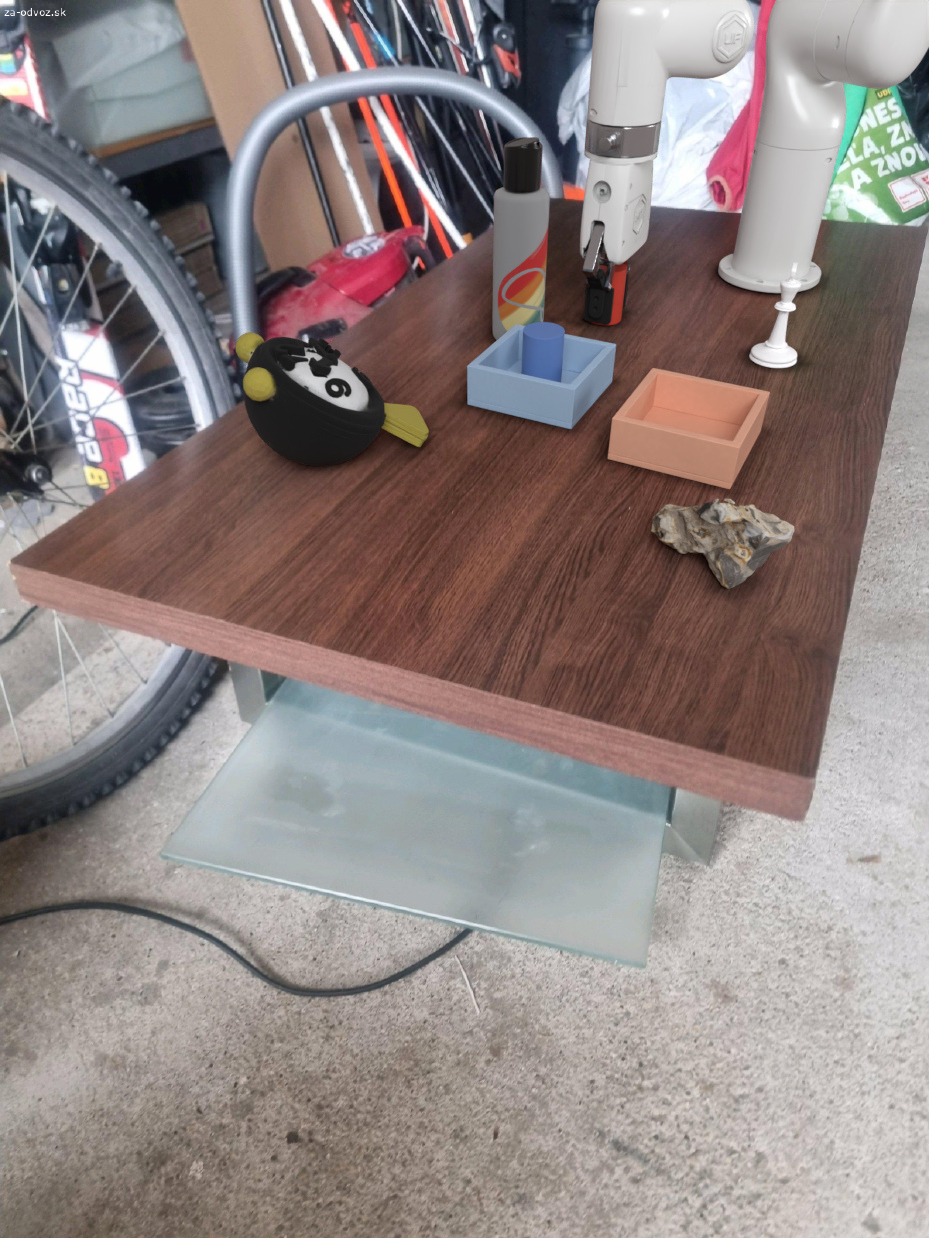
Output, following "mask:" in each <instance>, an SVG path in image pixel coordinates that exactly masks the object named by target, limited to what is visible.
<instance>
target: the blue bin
mask: <svg viewBox="0 0 929 1238" xmlns="http://www.w3.org/2000/svg"><path fill="white" fill-rule="evenodd" d="M524 327H525V326H523V325H518V324H516V325H514V326H513V327H512V328H511V329H510V330H508V331H507V332H506V333H505V334H504V335H503V336H501V337H500V338H499V339H498V340H496V341H494V342H493V343H492V344H491V345H489V346H488V347H487V348H486V349H485V350H483V352H481V353H480V354H479V355H478V356H476V358H474V359H473V360H472V361H471V362H470V363H469V364H467V366H466V384H467V385H466V386H467V388H466V389H467V390H466V393H467V396H466V397H467V398H466V399H467V404H466V405H468V406H471V407H476V408H481V409H484V410H489V411H493V412H496V413H501V414H506V415H510V416H514V417H518V418H522V419H526V420H530V421H533V422H534V421H535V422H539V423H541V424H542V423H543V424H547V425H551V426H556V427H559V428H563V429H568V430H573V428H574V427H575V426H576V425H577V424H578V422H579V421H580V420H581V419H582V417H584V416H585V415H586V413H587V412H588V411H589V409H590V408H592V406H593V405H594V404H595V403H596V402H597V400H598V399H599V398H600V397H601V396H602V394H603V393H604V392H605V391H606V390H607V389H608V388H609V386H610V385H611V384H612V383H613V377H614V368H615V360H616V351H617V344H616V343H614V342H613V343H612V342H607V341H603V340H598V339H593V338H587V337H582V336H578V335H573V334H567V333H565V335H564V350H563V364H562V378H561V383H560V382H556V381H551V380H547V379H542V378H538V377H533V376H529V375H524V374H521V371H522V344H523V329H524Z"/></svg>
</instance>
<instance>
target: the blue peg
mask: <svg viewBox="0 0 929 1238" xmlns="http://www.w3.org/2000/svg"><path fill="white" fill-rule="evenodd" d="M565 334H566V330H565V328H564V327H563V326H562V325H560V324H558V323H555V322H549V321H543V322H536V323H531V324H529V325H527V326H525V327H524V329H523V344H522V371H521V374H524V375H529V376H533V377H538V378H542V379H547V380H551V381H556V382H560V383H561V378H562V364H563V350H564V335H565Z"/></svg>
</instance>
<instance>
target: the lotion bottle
mask: <svg viewBox="0 0 929 1238" xmlns="http://www.w3.org/2000/svg"><path fill="white" fill-rule="evenodd" d="M543 150H544V147H543V144H542V142H540V138H539V137H537V136H530V137H527V136H526V137H524V136H523V137H518V138H515V139H511V140H509V141H508V142H507V143H505V144H504V148H503V187H499V188H498V189H496V190H495V192H494V194H493V241H492V242H493V243H492V244H493V245H492V246H493V247H492V249H493V250H492V252H493V253H492V336H493V338H494V339H495V340H496V341H497V340H498V339H499V338H500V337H501V336H503V335H504V334H505V333H506V332H507V331H508V330H510V329H511V328H512V327H513V326H514V325H516V324H518V325H523V326H527V325H529V324H531V323H536V322H544V318H545V317H544V316H545V301H546V300H545V298H546V278H547V277H546V276H547V259H548V244H549V243H548V242H549V240H548V239H549V224H550V223H549V221H550V202H551V201H550V200H551V199H550V198H551V197H550V191H548V189H546V188H544V187H541V186H542V169H543Z"/></svg>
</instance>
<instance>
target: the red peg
mask: <svg viewBox="0 0 929 1238" xmlns="http://www.w3.org/2000/svg"><path fill="white" fill-rule="evenodd" d="M599 267H600V269H603V270H604V272H605V275H606V271H607V266H604V265H599ZM626 274H628V273H627V266H626V265H625V264H623V263H622V264H621V265H616V264H615V269H614V275H613V282H612V287H611V288H614V289H615V290H614V299H613V308H612V318H611V322H610V323H609V324H607V325H606V324H600V323H595V322H590V321H588V322H589V323H591V324H593V325H598V326H613V325H617V324H619V323H621V321H622V317H623V309H622V308H623V299H624V291H625V282H626Z"/></svg>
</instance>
